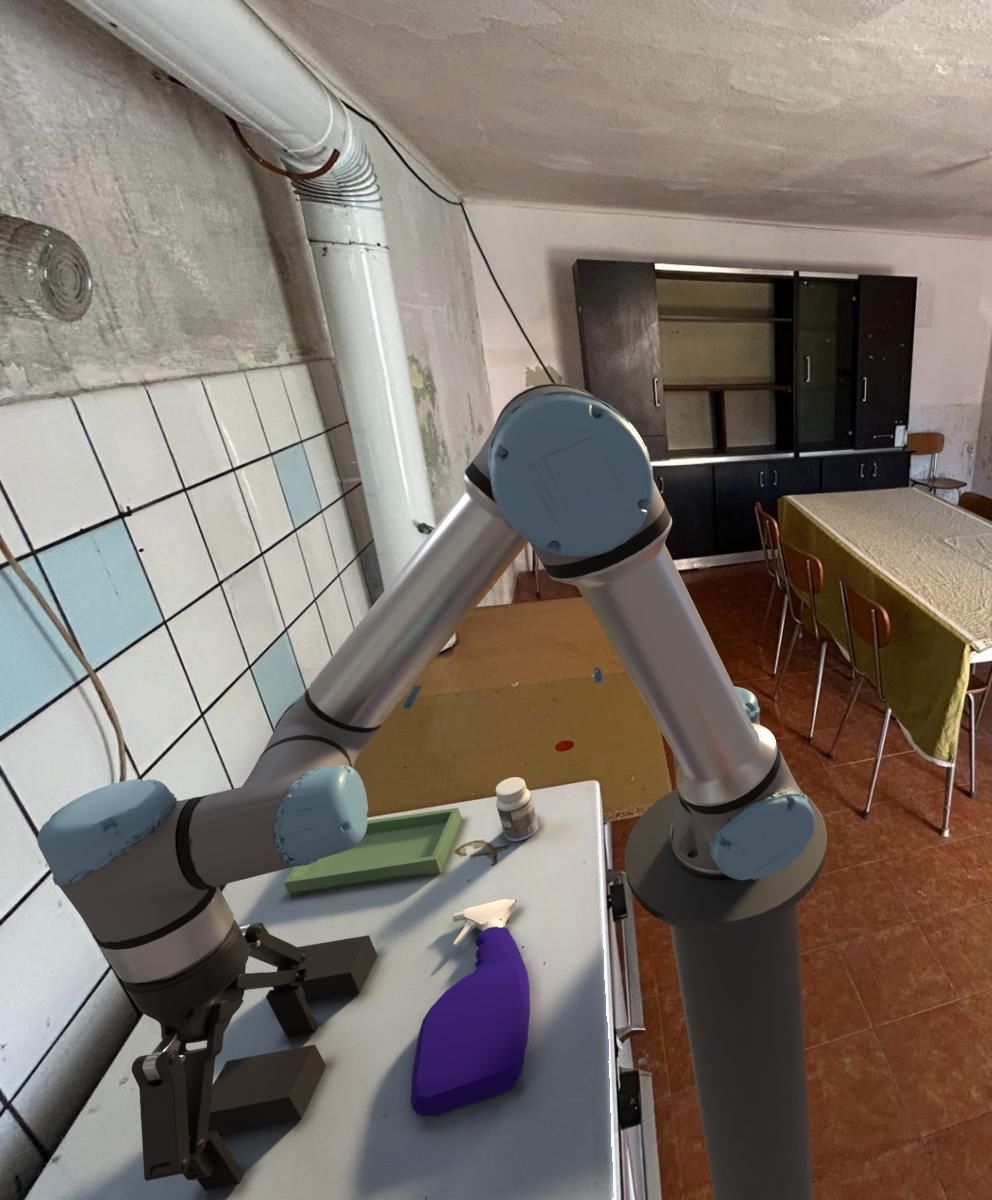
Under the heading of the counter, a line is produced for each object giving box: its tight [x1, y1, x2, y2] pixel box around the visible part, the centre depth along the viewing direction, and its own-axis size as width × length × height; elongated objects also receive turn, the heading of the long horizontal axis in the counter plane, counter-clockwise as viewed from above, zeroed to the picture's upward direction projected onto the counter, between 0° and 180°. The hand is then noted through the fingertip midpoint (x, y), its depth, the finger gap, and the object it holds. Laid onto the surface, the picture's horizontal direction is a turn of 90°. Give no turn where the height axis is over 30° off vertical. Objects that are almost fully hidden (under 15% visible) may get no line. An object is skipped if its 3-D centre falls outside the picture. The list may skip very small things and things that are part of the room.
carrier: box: [283, 807, 463, 898], centre depth 94 cm, size 19×11×3 cm, turn 100°
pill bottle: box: [495, 776, 539, 842], centre depth 96 cm, size 5×5×8 cm
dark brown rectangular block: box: [272, 935, 378, 1004], centre depth 76 cm, size 8×5×4 cm, turn 100°
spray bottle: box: [410, 898, 531, 1118], centre depth 73 cm, size 3×11×24 cm
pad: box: [208, 1043, 327, 1137], centre depth 64 cm, size 8×5×4 cm, turn 100°
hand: (267, 1100), depth 64 cm, fingers open, 13 cm apart
